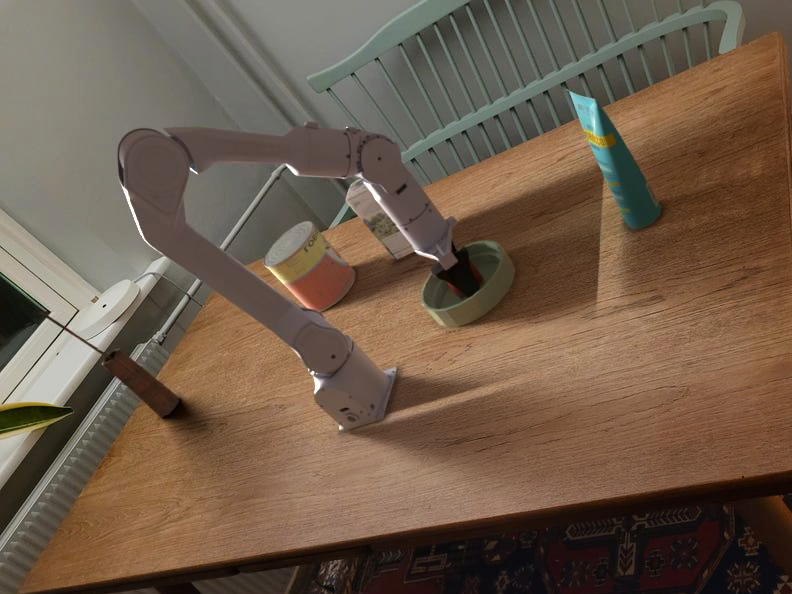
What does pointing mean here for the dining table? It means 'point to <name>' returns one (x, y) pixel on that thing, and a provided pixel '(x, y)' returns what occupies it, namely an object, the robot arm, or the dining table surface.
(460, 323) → the bowl
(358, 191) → the syrup box
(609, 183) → the tube
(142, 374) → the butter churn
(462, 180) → the dining table surface
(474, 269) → the tin can
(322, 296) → the canned food
